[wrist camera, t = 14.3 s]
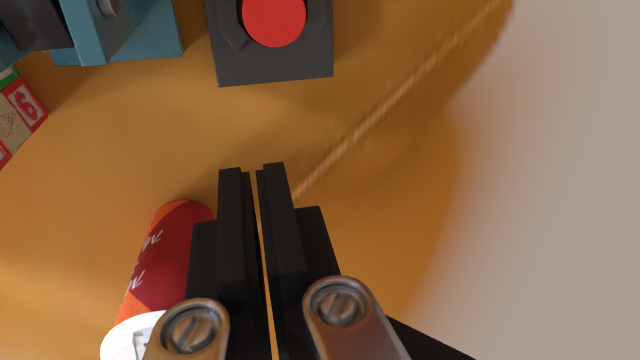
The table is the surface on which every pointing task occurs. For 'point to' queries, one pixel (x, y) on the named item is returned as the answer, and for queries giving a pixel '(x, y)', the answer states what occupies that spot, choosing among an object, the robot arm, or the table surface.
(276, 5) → the button
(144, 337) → the paper cup
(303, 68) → the control block
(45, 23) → the lever
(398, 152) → the table surface
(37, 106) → the stack of blocks
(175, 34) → the bracket
